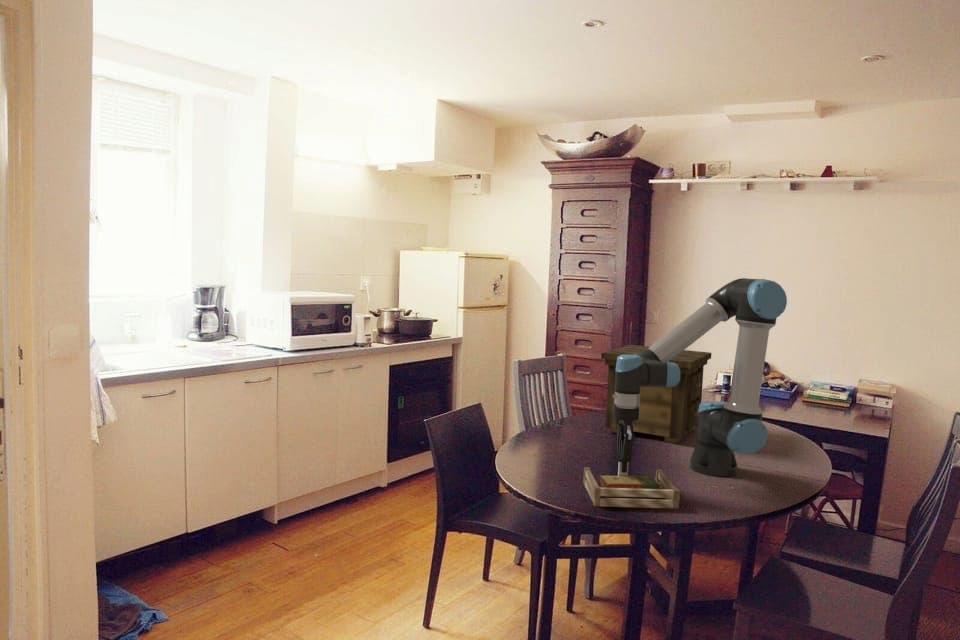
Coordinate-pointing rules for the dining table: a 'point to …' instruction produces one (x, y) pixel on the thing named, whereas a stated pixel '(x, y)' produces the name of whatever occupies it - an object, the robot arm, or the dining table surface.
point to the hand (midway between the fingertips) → (622, 481)
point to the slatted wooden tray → (633, 493)
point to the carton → (628, 482)
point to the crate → (662, 396)
